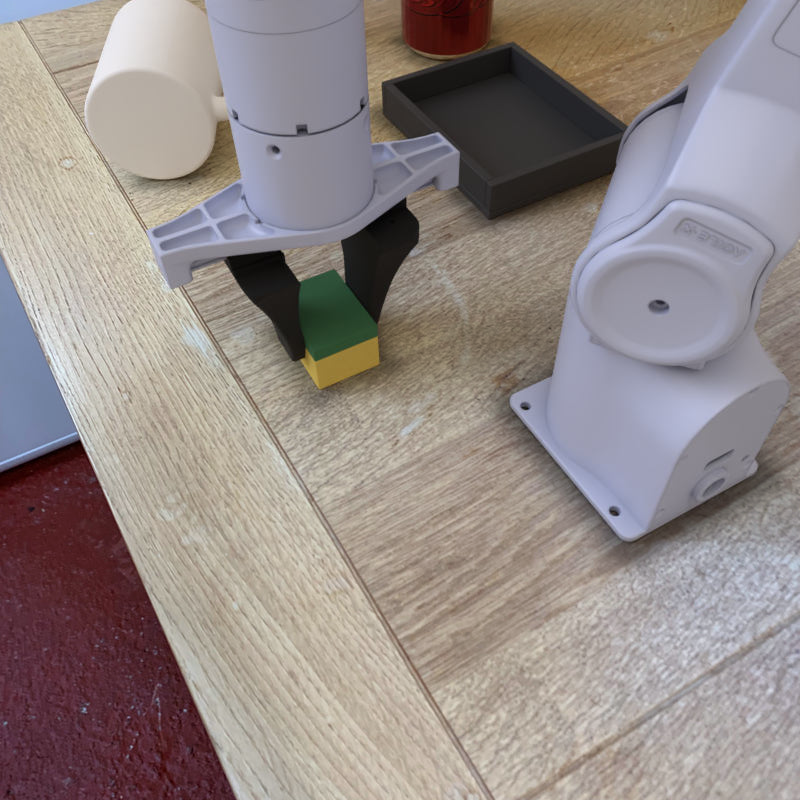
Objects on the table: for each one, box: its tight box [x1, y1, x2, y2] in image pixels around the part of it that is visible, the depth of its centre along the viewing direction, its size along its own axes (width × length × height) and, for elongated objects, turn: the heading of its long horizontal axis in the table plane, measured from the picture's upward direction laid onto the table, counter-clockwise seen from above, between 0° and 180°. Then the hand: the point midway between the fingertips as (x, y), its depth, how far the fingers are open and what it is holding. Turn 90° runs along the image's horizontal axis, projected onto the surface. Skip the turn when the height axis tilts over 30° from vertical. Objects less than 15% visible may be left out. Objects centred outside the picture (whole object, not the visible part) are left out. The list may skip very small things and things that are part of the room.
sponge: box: [299, 268, 380, 390], centre depth 42 cm, size 5×4×3 cm
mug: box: [83, 0, 230, 180], centre depth 53 cm, size 12×10×8 cm
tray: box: [381, 41, 629, 220], centre depth 55 cm, size 14×11×2 cm
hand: (328, 333), depth 42 cm, fingers closed on sponge, 4 cm apart
